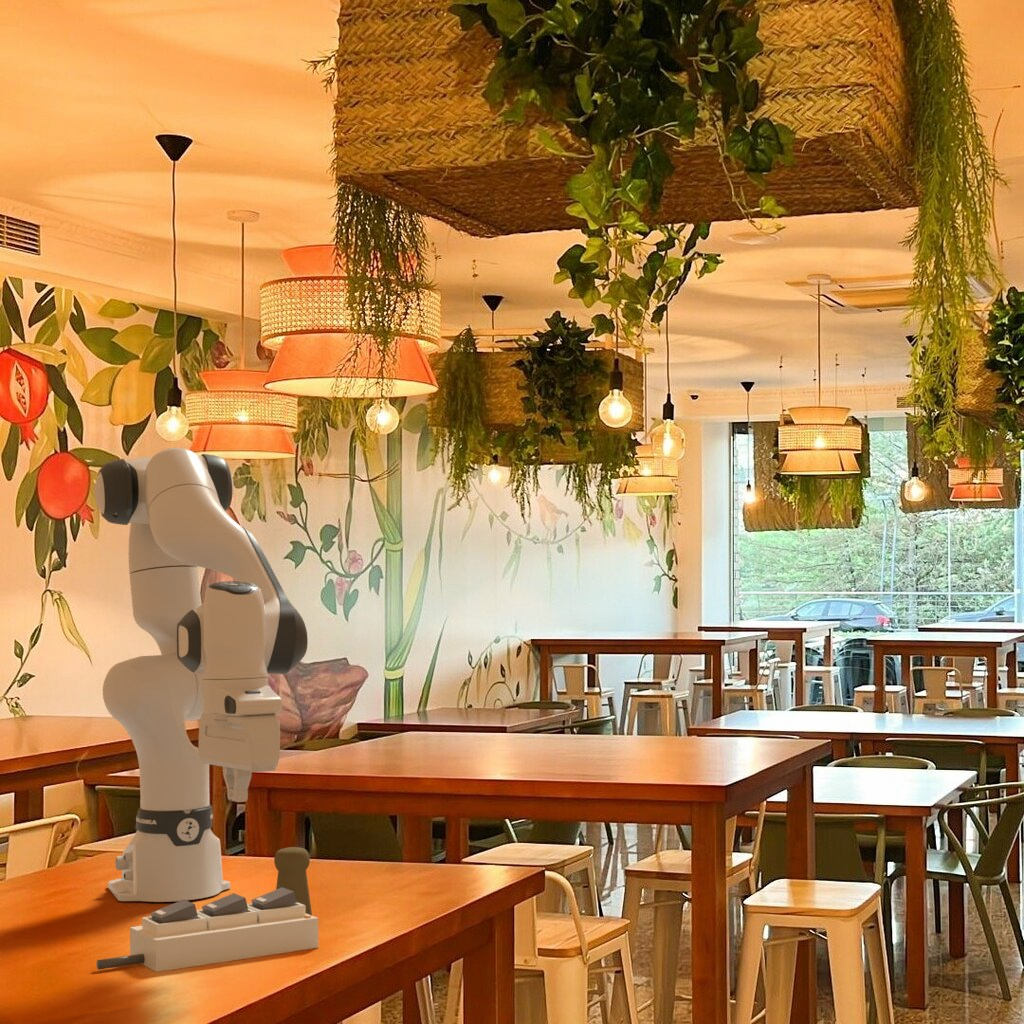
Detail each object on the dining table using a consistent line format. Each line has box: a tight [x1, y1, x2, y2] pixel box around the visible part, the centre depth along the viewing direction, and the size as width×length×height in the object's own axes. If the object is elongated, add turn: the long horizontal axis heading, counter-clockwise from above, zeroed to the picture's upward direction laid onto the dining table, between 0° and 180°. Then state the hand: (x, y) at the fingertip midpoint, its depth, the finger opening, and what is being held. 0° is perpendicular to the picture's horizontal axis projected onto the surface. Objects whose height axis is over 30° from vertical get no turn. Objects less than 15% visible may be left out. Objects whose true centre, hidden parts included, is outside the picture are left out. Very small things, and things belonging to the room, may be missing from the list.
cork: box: [273, 846, 313, 916], centre depth 228 cm, size 6×6×11 cm
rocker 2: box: [201, 893, 248, 917], centre depth 209 cm, size 4×5×2 cm
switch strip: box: [96, 902, 319, 973], centre depth 208 cm, size 10×29×6 cm, turn 123°
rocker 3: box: [251, 887, 297, 910], centre depth 213 cm, size 4×5×2 cm
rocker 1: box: [150, 900, 198, 924], centre depth 206 cm, size 4×5×2 cm
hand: (237, 801), depth 211 cm, fingers closed
